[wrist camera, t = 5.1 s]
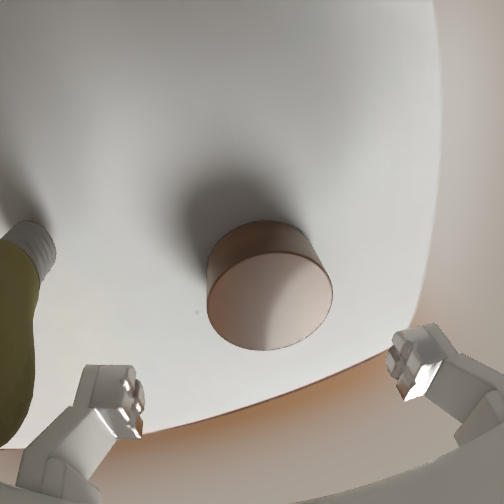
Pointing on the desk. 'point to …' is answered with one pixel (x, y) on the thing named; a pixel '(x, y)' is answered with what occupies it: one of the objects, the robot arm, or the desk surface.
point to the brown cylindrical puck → (266, 287)
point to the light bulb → (20, 318)
